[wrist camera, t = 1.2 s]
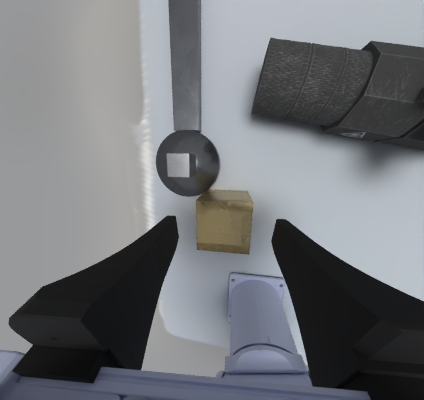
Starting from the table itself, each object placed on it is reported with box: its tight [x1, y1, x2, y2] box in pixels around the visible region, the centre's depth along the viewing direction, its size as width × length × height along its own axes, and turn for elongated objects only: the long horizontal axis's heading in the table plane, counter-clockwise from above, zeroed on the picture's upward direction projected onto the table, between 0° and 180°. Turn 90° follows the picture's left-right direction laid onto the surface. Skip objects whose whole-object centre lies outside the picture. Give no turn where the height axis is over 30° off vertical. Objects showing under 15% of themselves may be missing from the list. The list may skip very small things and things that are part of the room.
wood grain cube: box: [196, 190, 253, 254], centre depth 18 cm, size 6×6×6 cm
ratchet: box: [156, 0, 220, 196], centre depth 16 cm, size 22×8×5 cm, turn 179°
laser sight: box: [252, 38, 424, 150], centre depth 12 cm, size 10×22×10 cm, turn 79°
